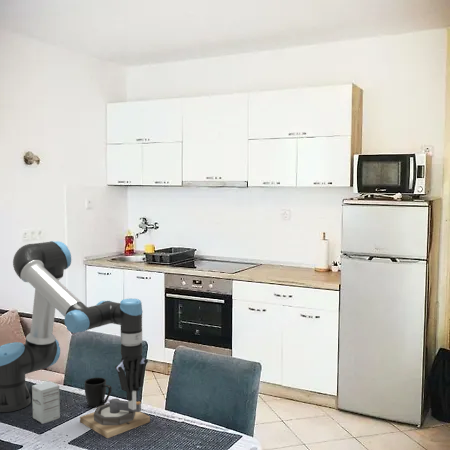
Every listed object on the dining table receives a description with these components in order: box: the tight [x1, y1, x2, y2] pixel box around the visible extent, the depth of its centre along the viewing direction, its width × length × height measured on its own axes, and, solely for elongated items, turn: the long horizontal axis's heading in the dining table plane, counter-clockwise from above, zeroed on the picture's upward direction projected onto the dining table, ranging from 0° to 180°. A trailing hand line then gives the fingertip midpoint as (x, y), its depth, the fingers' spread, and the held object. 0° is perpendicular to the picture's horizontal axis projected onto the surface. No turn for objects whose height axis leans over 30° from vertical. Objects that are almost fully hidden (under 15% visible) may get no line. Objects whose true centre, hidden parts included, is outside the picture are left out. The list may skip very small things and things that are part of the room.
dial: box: [101, 398, 142, 417], centre depth 197 cm, size 15×10×6 cm, turn 74°
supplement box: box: [31, 380, 61, 425], centre depth 201 cm, size 7×7×13 cm
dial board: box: [79, 402, 151, 439], centre depth 198 cm, size 18×18×4 cm
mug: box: [84, 377, 113, 408], centre depth 212 cm, size 8×12×10 cm
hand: (132, 408), depth 193 cm, fingers closed
